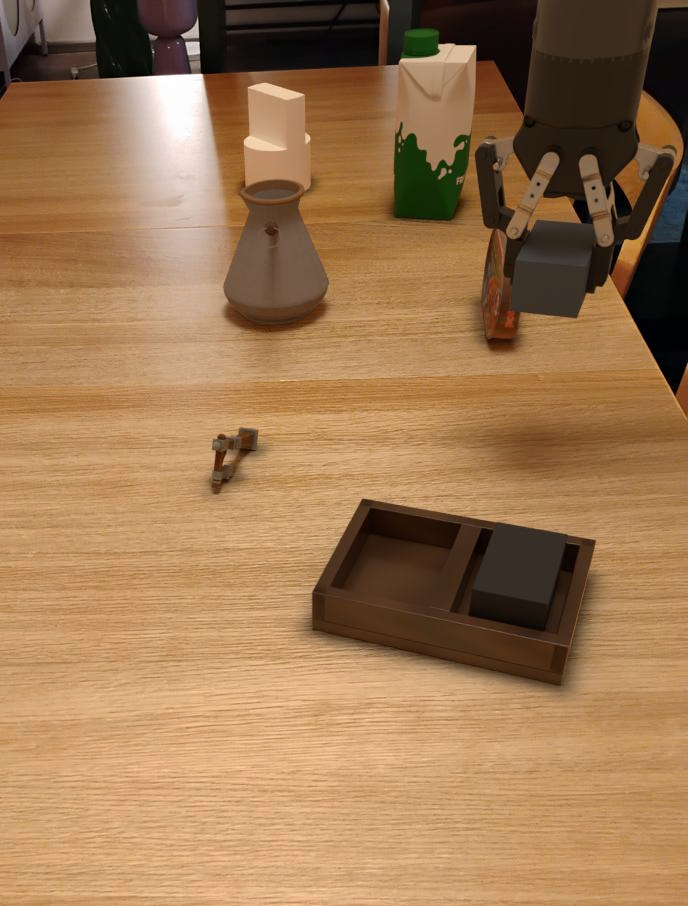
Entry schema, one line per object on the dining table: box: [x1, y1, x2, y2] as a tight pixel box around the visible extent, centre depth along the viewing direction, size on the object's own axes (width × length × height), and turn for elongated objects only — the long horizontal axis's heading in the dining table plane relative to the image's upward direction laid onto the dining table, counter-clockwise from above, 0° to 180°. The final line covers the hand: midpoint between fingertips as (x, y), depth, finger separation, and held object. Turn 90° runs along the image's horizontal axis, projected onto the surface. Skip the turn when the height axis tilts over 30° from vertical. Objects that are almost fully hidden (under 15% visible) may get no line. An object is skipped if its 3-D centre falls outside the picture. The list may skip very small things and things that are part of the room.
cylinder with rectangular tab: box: [243, 82, 312, 192], centre depth 138 cm, size 9×9×12 cm
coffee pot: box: [222, 179, 330, 326], centre depth 105 cm, size 21×12×15 cm, turn 176°
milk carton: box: [393, 28, 477, 221], centre depth 125 cm, size 9×9×20 cm
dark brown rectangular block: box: [469, 521, 569, 632], centre depth 72 cm, size 5×8×4 cm, turn 157°
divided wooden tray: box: [311, 497, 597, 686], centre depth 74 cm, size 18×12×4 cm
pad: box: [509, 219, 596, 319], centre depth 79 cm, size 5×8×4 cm, turn 156°
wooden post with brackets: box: [211, 426, 259, 489], centre depth 90 cm, size 2×8×4 cm, turn 157°
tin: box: [481, 228, 522, 340], centre depth 105 cm, size 15×3×8 cm, turn 172°
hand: (553, 284), depth 79 cm, fingers closed on pad, 5 cm apart
